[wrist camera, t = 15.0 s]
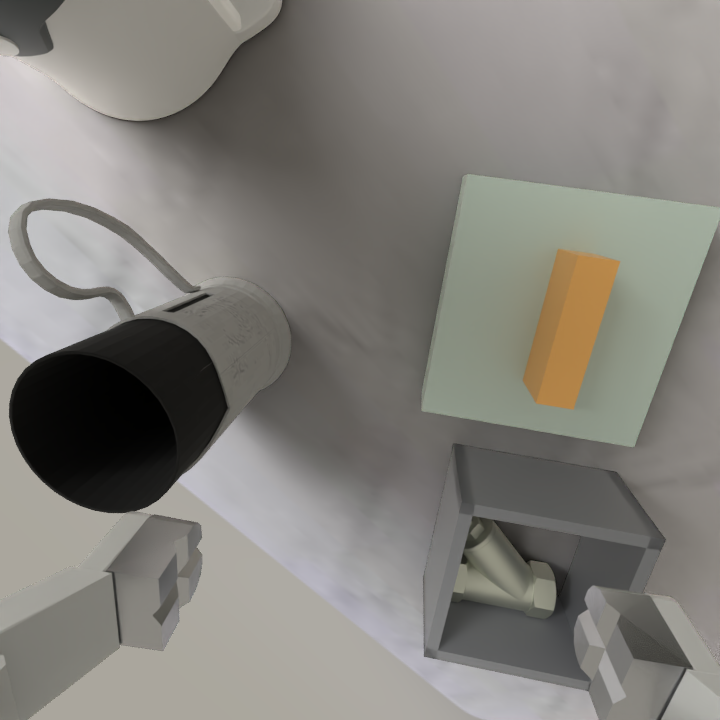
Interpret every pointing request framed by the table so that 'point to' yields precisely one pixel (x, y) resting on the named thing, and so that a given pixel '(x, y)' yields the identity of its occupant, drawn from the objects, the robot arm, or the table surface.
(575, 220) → the lid
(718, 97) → the table surface
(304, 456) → the table surface
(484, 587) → the pipe fitting
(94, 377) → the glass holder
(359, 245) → the table surface
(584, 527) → the parts tub
